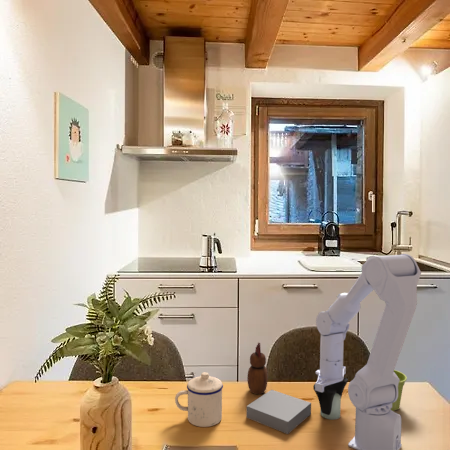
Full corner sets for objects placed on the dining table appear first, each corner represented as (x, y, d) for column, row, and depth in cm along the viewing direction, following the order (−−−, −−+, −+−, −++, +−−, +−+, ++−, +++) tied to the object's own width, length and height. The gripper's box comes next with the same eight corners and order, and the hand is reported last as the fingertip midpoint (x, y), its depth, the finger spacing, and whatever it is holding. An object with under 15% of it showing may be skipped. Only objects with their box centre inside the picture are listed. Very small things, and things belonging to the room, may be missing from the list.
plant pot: (369, 411, 109) (370, 379, 108) (368, 395, 118) (368, 366, 117) (407, 417, 106) (408, 384, 105) (403, 400, 115) (404, 370, 114)
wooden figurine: (266, 397, 116) (266, 345, 115) (245, 395, 117) (246, 343, 116) (268, 387, 123) (269, 337, 122) (249, 385, 124) (249, 336, 123)
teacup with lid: (221, 408, 109) (221, 365, 109) (224, 427, 100) (224, 380, 100) (175, 410, 108) (175, 367, 108) (174, 429, 99) (174, 382, 99)
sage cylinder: (343, 413, 107) (343, 395, 107) (335, 421, 103) (335, 402, 103) (325, 407, 110) (325, 389, 110) (317, 415, 107) (317, 396, 106)
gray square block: (310, 414, 107) (311, 402, 107) (287, 434, 98) (288, 421, 98) (271, 400, 115) (271, 389, 114) (246, 417, 105) (246, 406, 105)
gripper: (328, 346, 114) (327, 394, 115) (304, 362, 103) (303, 415, 104) (353, 352, 110) (352, 402, 111) (330, 369, 99) (329, 424, 99)
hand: (330, 409), depth 107 cm, fingers closed on sage cylinder, 5 cm apart
